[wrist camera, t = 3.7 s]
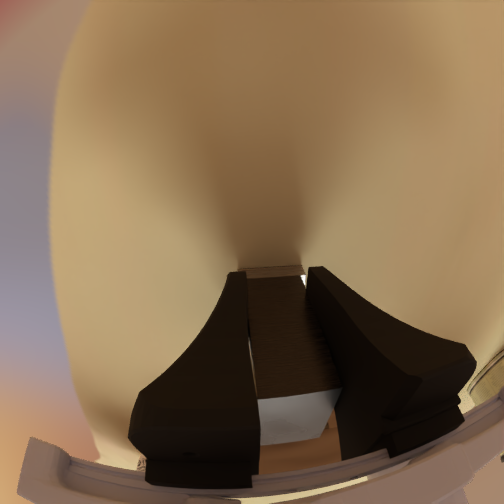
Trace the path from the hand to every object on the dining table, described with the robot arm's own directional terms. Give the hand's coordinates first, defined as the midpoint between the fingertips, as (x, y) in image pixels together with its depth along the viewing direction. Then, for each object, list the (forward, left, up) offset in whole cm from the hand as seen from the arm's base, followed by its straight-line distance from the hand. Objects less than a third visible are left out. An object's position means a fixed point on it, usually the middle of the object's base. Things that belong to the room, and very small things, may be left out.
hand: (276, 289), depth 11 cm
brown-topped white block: (-7, +4, -2) cm, 8 cm away
